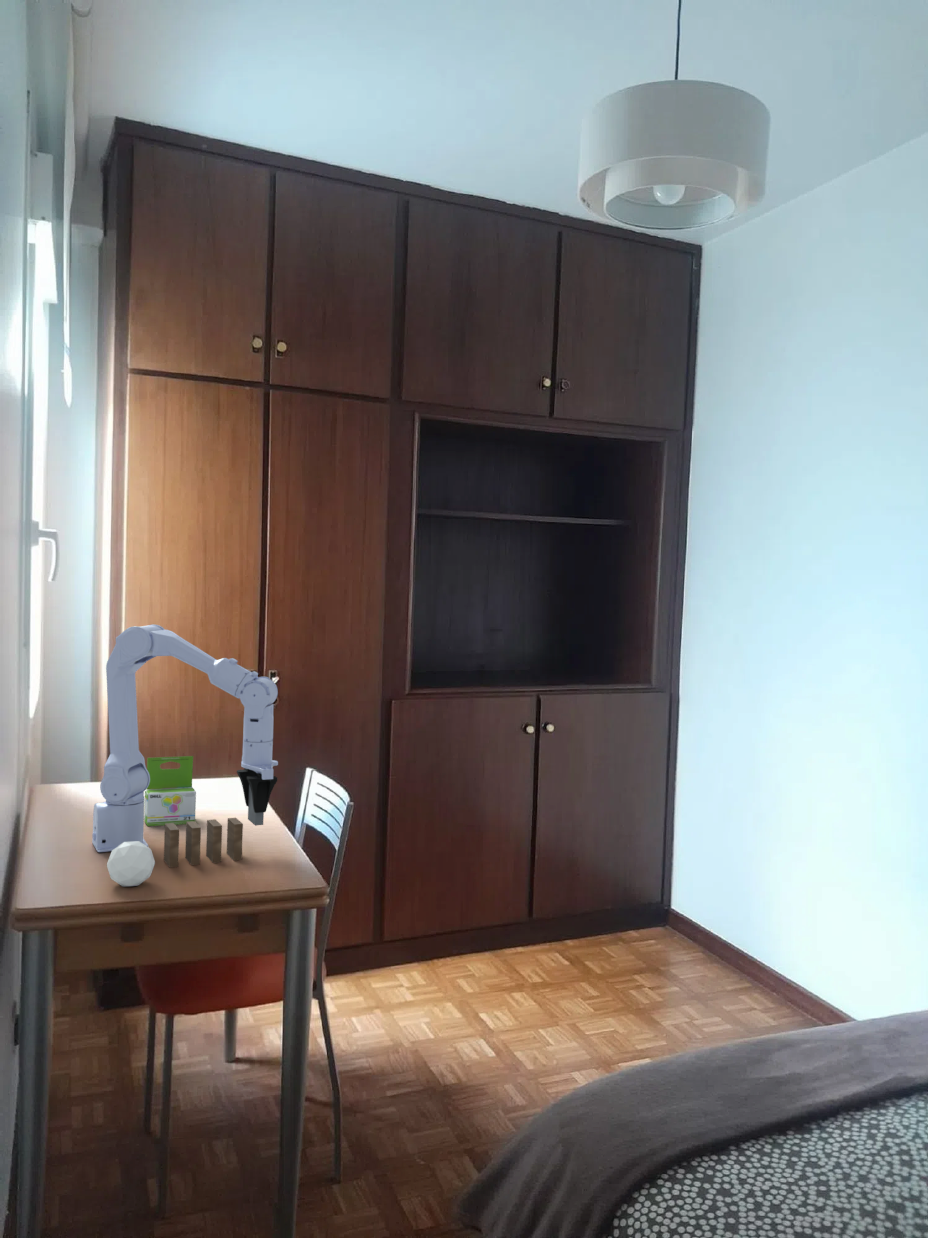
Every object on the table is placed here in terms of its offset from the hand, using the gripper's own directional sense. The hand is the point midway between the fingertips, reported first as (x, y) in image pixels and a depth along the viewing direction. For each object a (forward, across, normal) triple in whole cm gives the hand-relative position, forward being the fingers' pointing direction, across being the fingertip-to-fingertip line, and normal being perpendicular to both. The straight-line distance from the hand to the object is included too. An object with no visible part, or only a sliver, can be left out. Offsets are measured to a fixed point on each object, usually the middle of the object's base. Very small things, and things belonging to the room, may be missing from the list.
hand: (255, 809), depth 188 cm
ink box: (+9, +30, +10) cm, 33 cm away
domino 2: (+9, 0, +12) cm, 15 cm away
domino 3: (+9, 0, +8) cm, 12 cm away
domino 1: (+9, 0, +16) cm, 18 cm away
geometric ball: (+9, -10, +25) cm, 28 cm away
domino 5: (+3, 0, 0) cm, 3 cm away
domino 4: (+9, 0, +4) cm, 10 cm away
